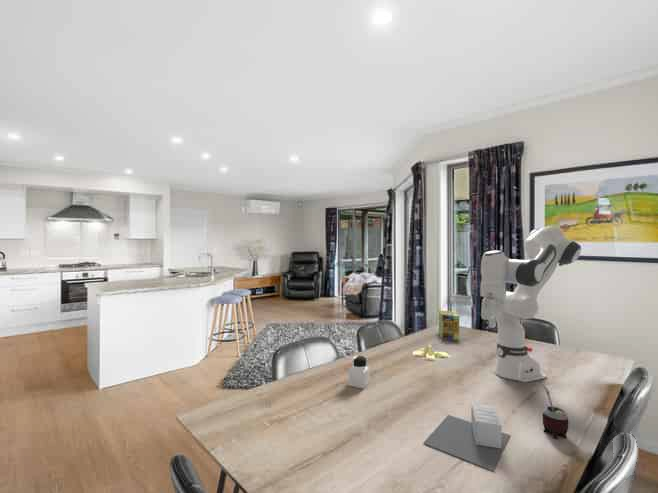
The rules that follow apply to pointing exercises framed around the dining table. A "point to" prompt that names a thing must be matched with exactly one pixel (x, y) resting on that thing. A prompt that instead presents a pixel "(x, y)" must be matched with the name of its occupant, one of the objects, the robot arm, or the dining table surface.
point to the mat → (464, 443)
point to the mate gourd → (554, 419)
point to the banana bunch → (429, 353)
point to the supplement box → (486, 426)
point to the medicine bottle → (359, 372)
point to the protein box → (449, 325)
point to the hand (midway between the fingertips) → (492, 327)
